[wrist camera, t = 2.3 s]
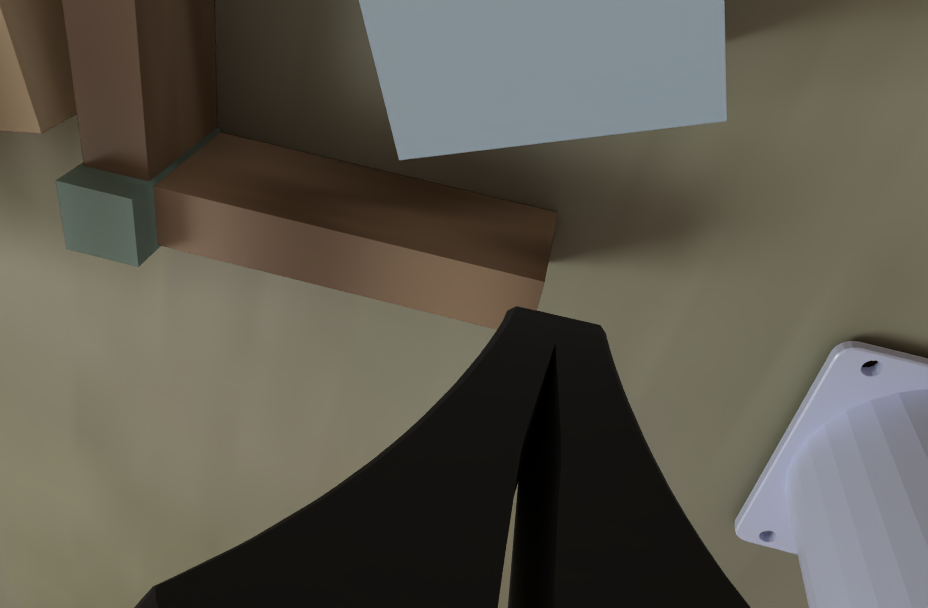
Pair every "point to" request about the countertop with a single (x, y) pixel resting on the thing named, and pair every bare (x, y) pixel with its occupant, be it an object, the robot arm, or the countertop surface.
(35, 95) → the maple block
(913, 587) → the robot arm
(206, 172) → the display stand
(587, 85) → the carton
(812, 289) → the countertop surface
